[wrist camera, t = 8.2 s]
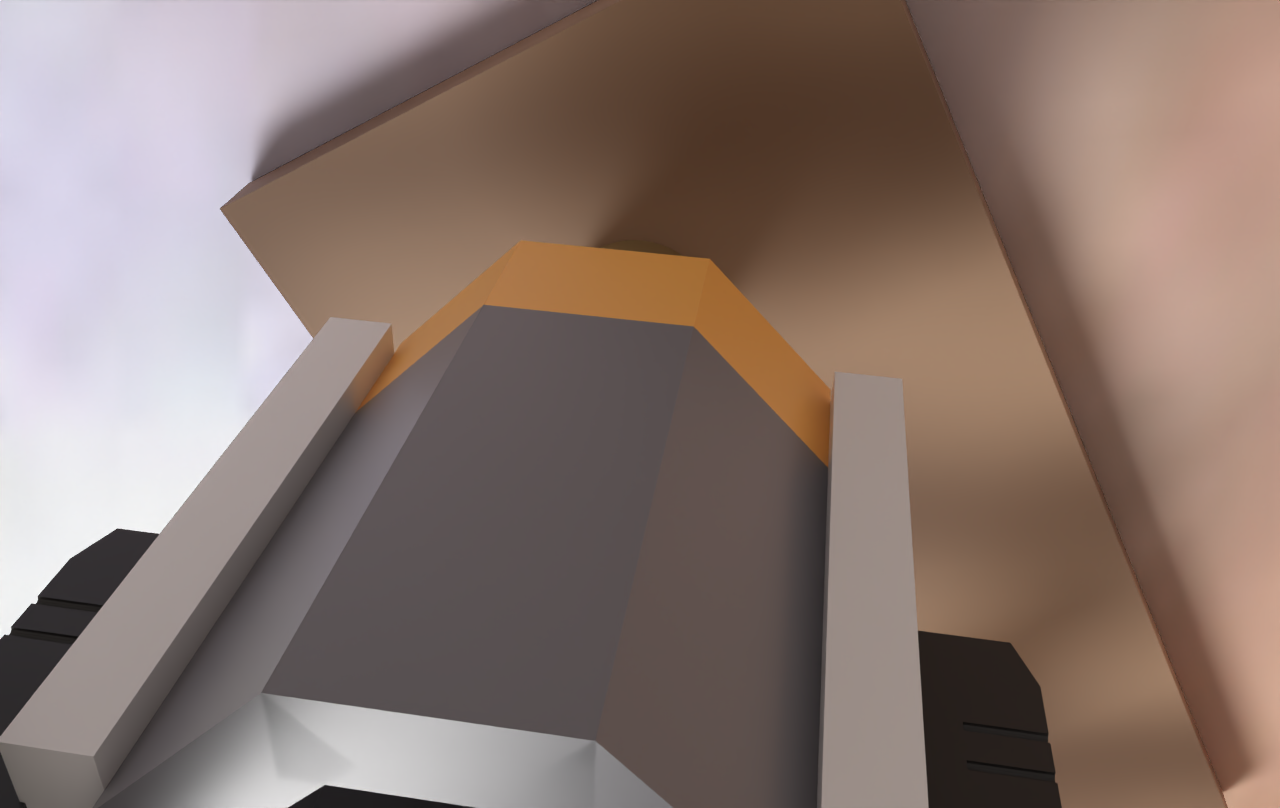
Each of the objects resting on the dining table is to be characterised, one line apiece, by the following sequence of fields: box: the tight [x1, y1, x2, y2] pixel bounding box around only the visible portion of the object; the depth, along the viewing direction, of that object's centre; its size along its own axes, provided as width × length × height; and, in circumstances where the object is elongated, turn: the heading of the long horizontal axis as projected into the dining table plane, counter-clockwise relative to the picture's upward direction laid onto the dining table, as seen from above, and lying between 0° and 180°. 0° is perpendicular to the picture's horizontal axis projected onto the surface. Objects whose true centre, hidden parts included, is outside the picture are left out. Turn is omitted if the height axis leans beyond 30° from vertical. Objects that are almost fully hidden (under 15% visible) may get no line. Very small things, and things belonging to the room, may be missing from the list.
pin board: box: [220, 0, 1228, 808], centre depth 17 cm, size 18×10×7 cm, turn 28°
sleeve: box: [93, 240, 831, 808], centre depth 12 cm, size 5×5×7 cm
